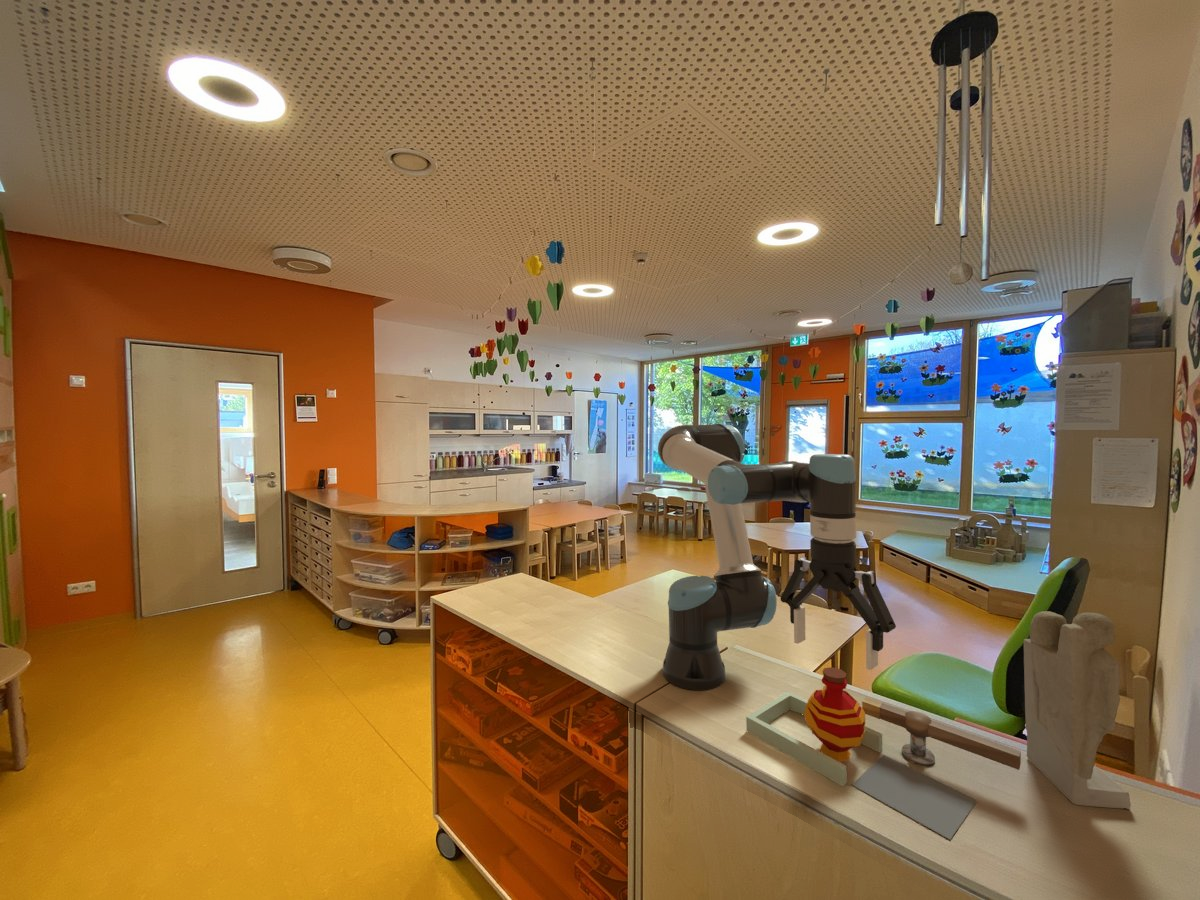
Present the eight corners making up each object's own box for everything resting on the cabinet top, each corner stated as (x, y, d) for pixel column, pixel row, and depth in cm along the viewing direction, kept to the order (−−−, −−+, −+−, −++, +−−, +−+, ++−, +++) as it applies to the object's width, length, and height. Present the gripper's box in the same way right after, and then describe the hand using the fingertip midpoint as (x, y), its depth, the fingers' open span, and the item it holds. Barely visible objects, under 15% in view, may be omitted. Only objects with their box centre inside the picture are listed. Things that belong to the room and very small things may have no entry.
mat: (851, 785, 81) (851, 784, 81) (883, 755, 88) (883, 754, 88) (950, 840, 70) (950, 839, 70) (977, 800, 77) (977, 799, 77)
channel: (746, 731, 96) (746, 716, 96) (788, 704, 105) (788, 691, 105) (842, 786, 81) (842, 769, 81) (882, 749, 90) (882, 733, 89)
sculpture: (1148, 825, 71) (1151, 626, 70) (1083, 817, 73) (1085, 623, 72) (1071, 758, 86) (1073, 592, 85) (1019, 753, 88) (1019, 590, 87)
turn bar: (1018, 773, 76) (1018, 759, 76) (860, 715, 93) (860, 702, 92) (1021, 761, 79) (1021, 747, 79) (867, 706, 95) (867, 694, 95)
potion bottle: (825, 728, 96) (824, 654, 96) (878, 756, 88) (877, 676, 87) (792, 747, 91) (791, 669, 90) (845, 780, 82) (844, 694, 82)
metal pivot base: (897, 754, 88) (897, 730, 88) (908, 743, 91) (908, 720, 91) (928, 769, 84) (928, 744, 84) (939, 757, 87) (939, 733, 87)
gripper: (761, 531, 96) (763, 637, 96) (898, 554, 76) (898, 687, 76) (783, 526, 100) (784, 627, 101) (917, 547, 80) (917, 672, 81)
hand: (833, 653), depth 89 cm, fingers open, 13 cm apart
